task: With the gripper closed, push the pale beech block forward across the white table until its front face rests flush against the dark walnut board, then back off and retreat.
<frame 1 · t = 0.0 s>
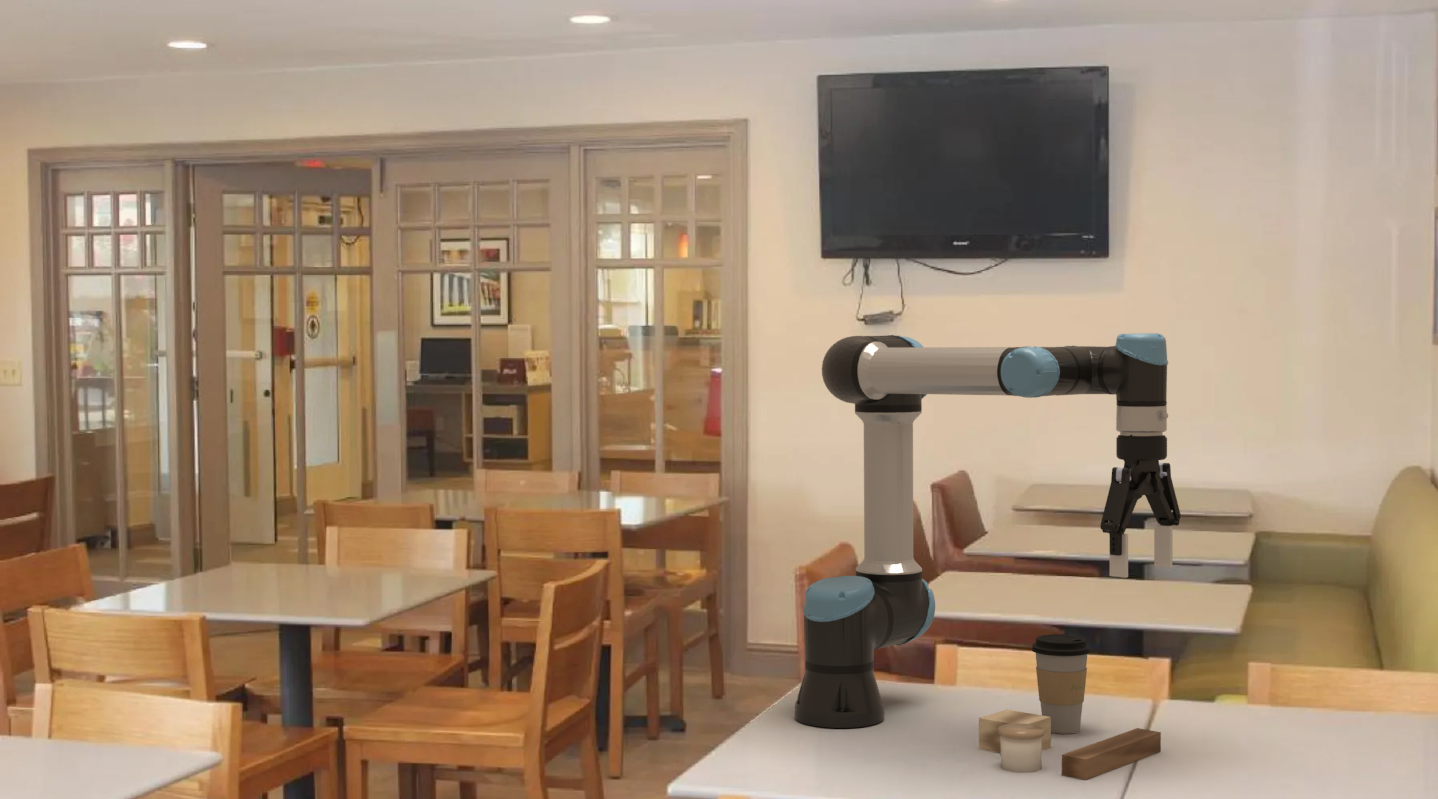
hand: (1141, 572, 248), 28 cm above the table, fingers open, 13 cm apart
sugar pot: (1021, 767, 242), on the table
coffee cup: (1060, 730, 264), on the table
block: (1014, 749, 253), on the table
board: (1112, 762, 243), on the table
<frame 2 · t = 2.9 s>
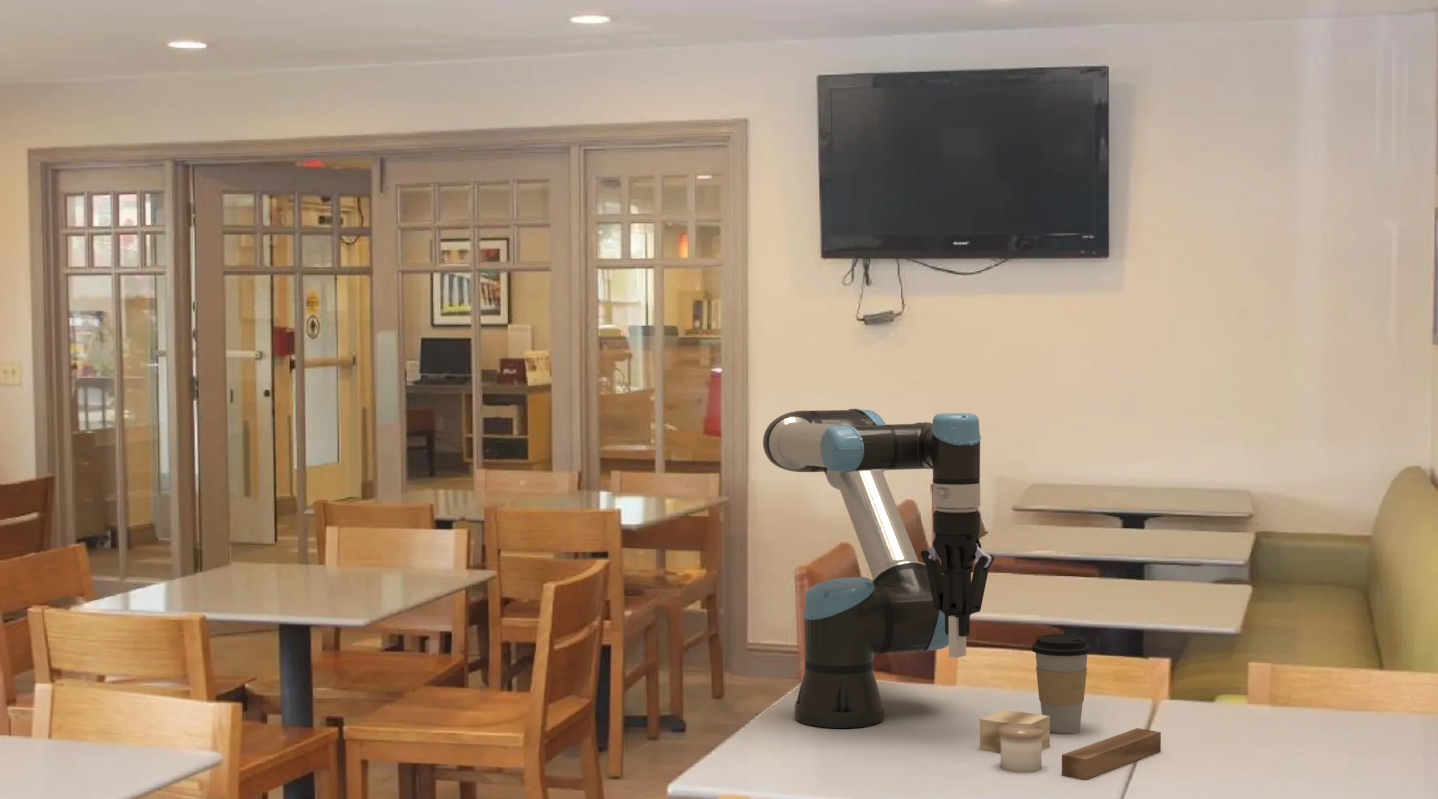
hand: (957, 655, 260), 13 cm above the table, fingers closed
nothing on the table moved.
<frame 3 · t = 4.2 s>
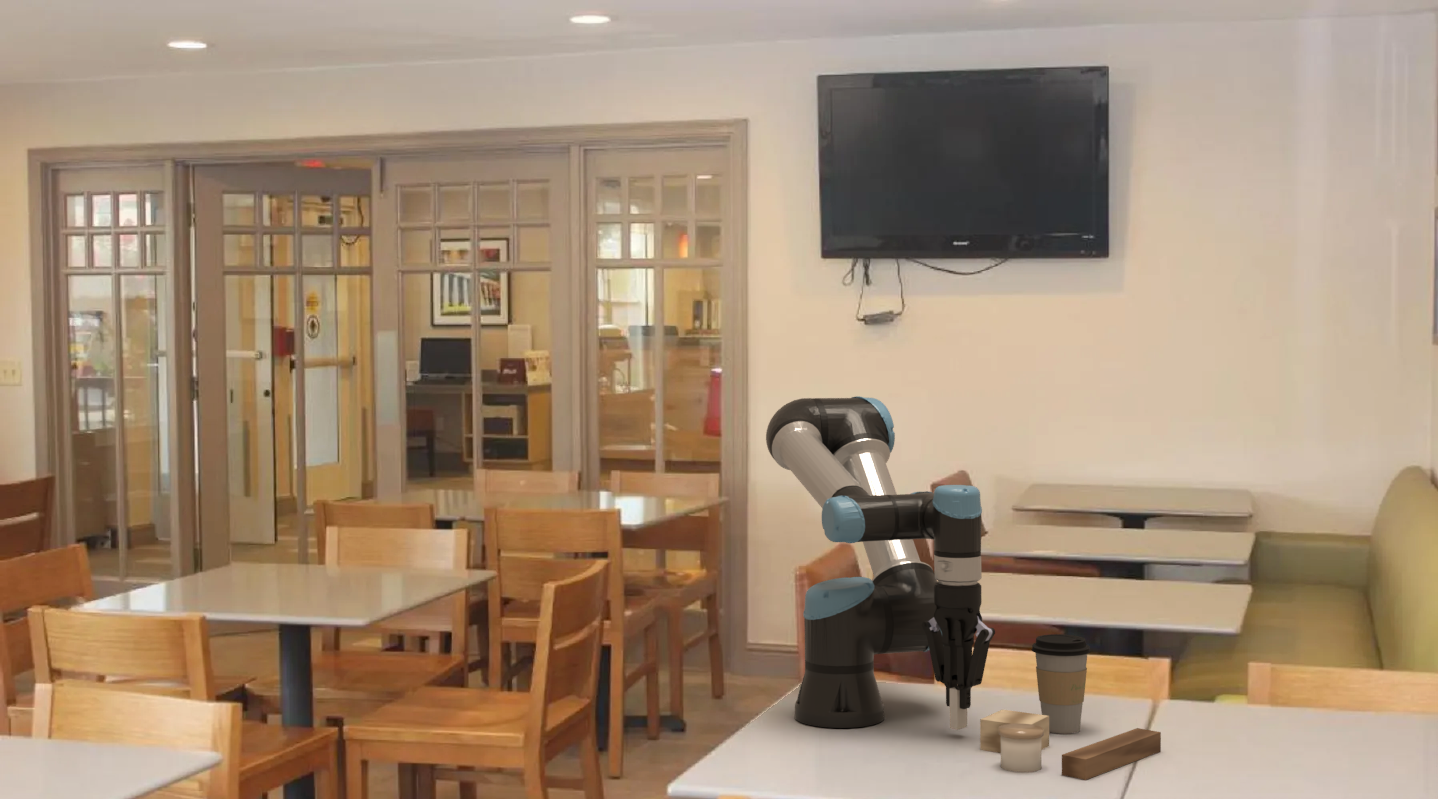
hand: (958, 727, 260), 1 cm above the table, fingers closed
nothing on the table moved.
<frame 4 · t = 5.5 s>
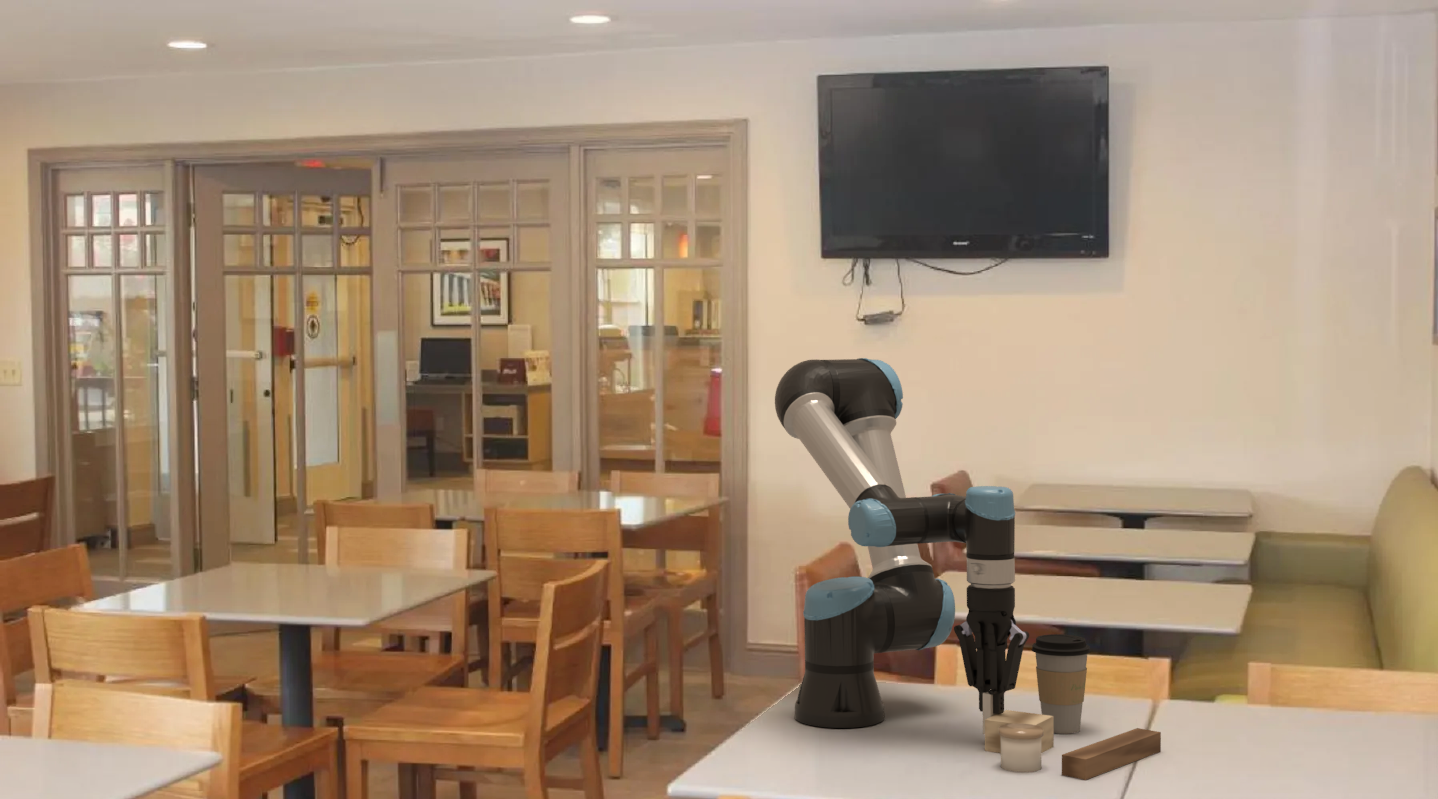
hand: (991, 733, 256), 2 cm above the table, fingers closed
block: (1019, 749, 252), on the table, touching gripper
everything else where it was.
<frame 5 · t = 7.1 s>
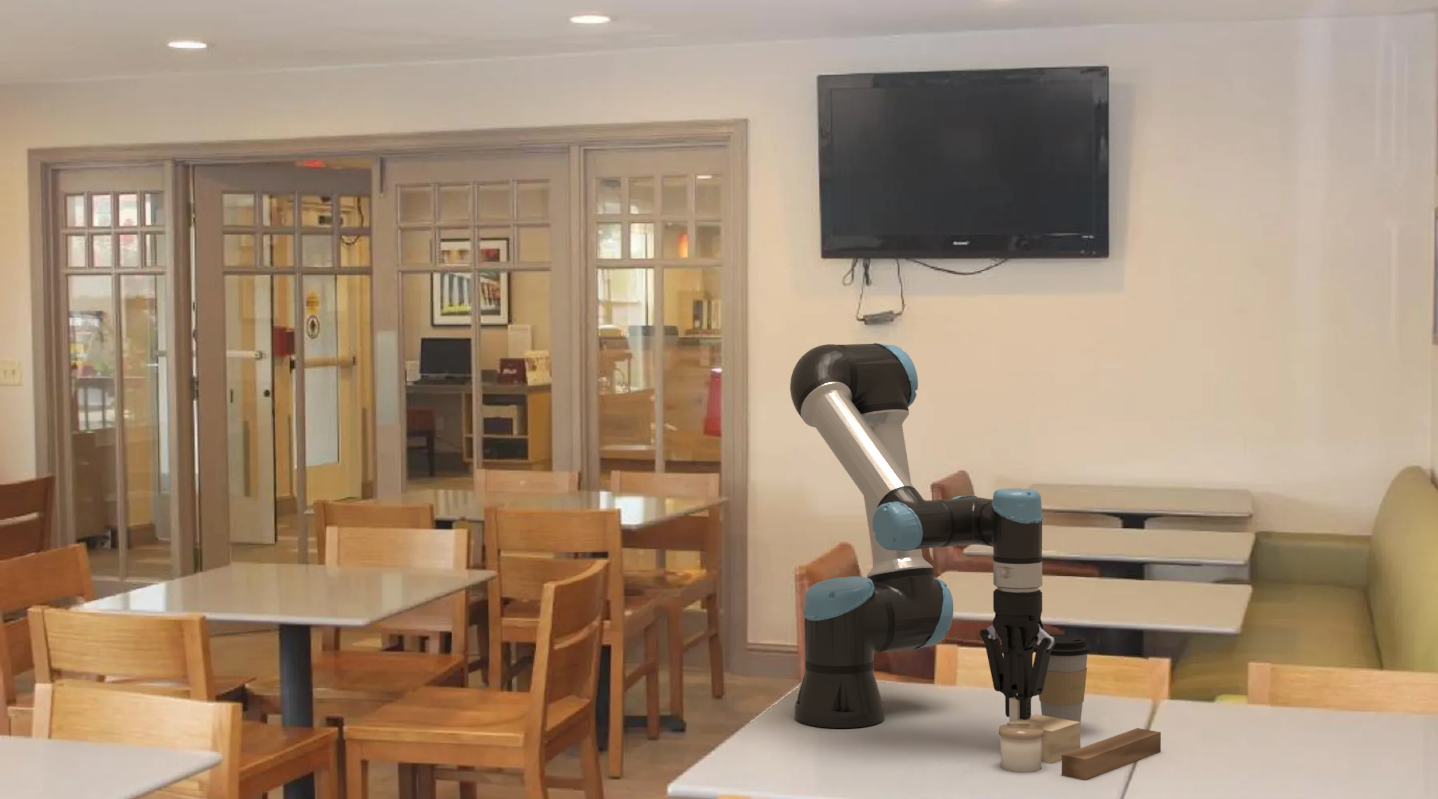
hand: (1018, 738, 252), 2 cm above the table, fingers closed
block: (1043, 754, 249), on the table, touching gripper
everything else where it was.
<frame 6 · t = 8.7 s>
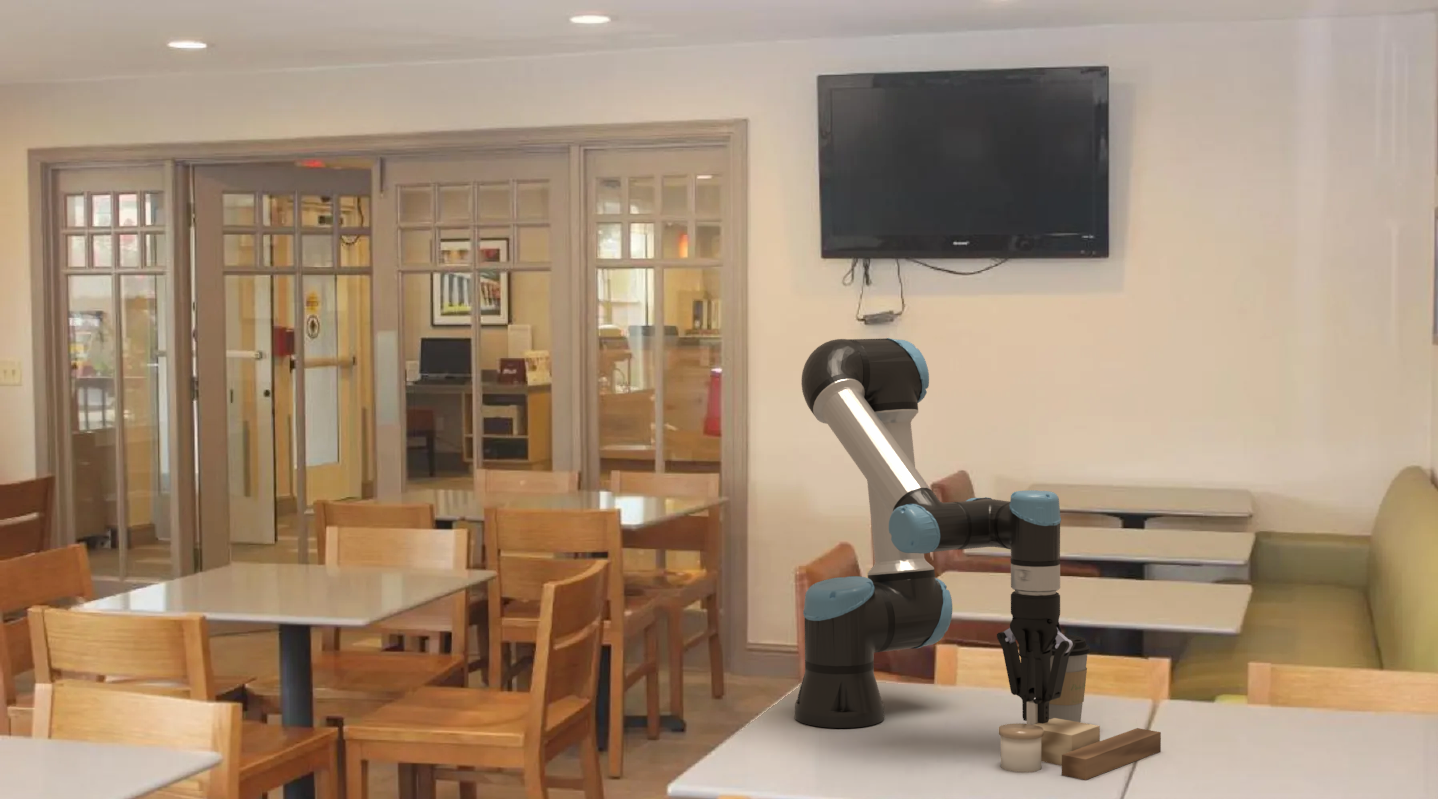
hand: (1035, 742, 250), 1 cm above the table, fingers closed
block: (1062, 758, 247), on the table, touching gripper
everything else where it was.
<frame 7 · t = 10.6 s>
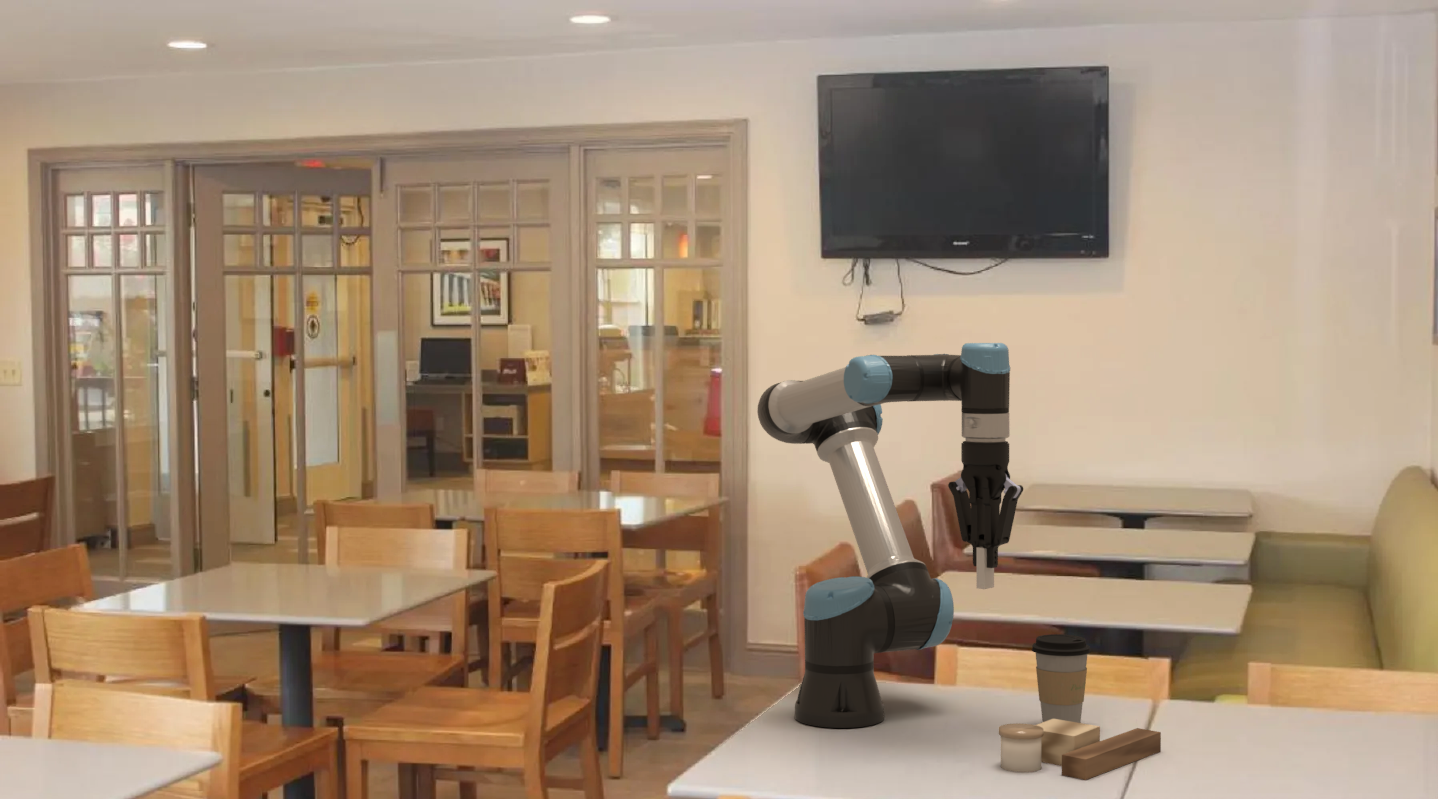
hand: (985, 587, 257), 24 cm above the table, fingers closed
block: (1063, 759, 246), on the table
everything else where it was.
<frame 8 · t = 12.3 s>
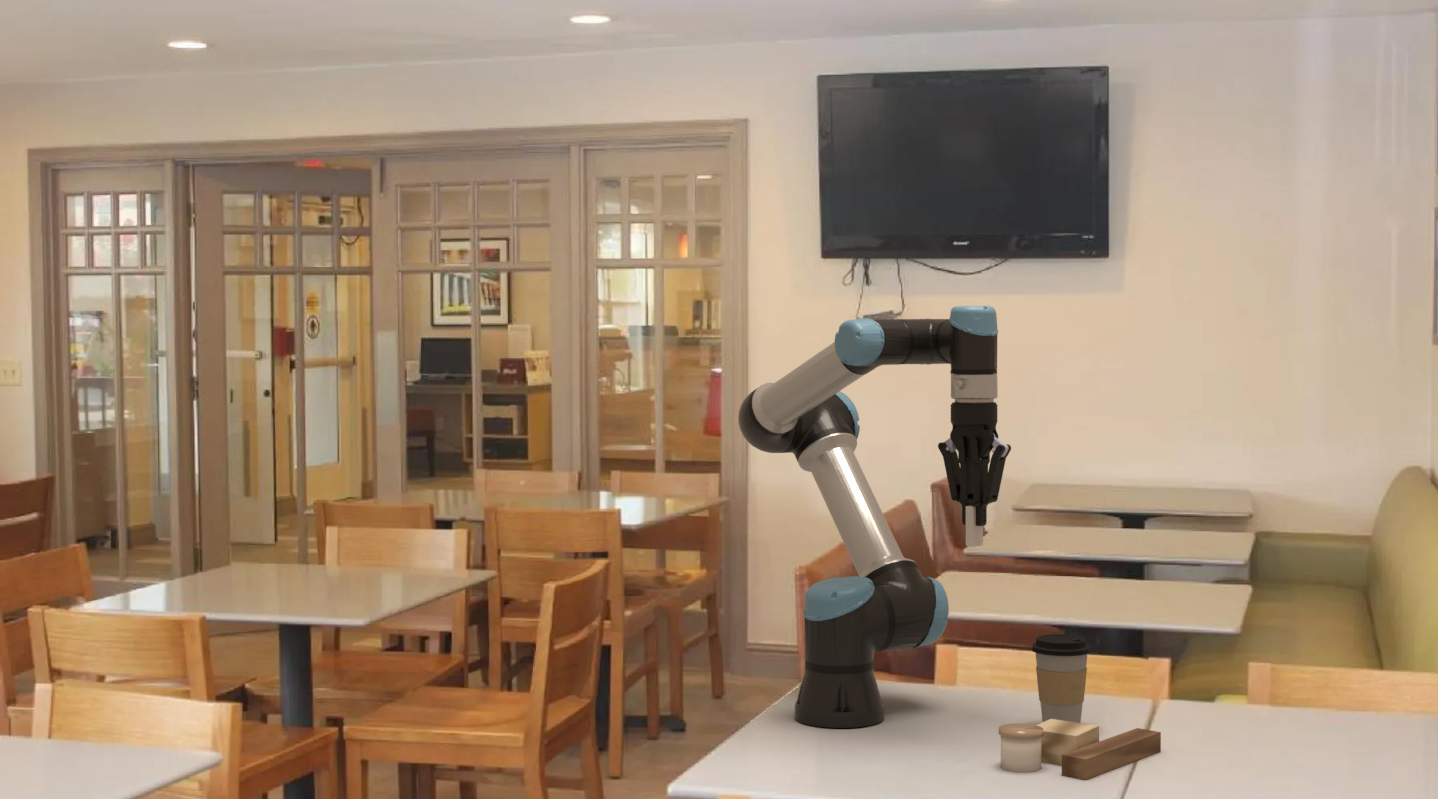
hand: (974, 545, 263), 30 cm above the table, fingers closed
nothing on the table moved.
at the end: block inside the target area on the table beside the board (1.5 cm from its centre), on the table; block tilted 0°; sugar pot moved 0.1 cm from its start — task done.
